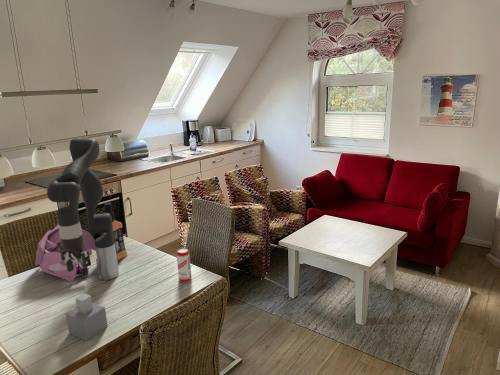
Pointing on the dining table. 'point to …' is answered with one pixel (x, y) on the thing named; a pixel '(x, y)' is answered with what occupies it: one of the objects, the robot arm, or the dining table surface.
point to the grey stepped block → (86, 318)
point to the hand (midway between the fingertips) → (78, 273)
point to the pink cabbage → (53, 260)
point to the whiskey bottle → (116, 234)
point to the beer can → (184, 265)
